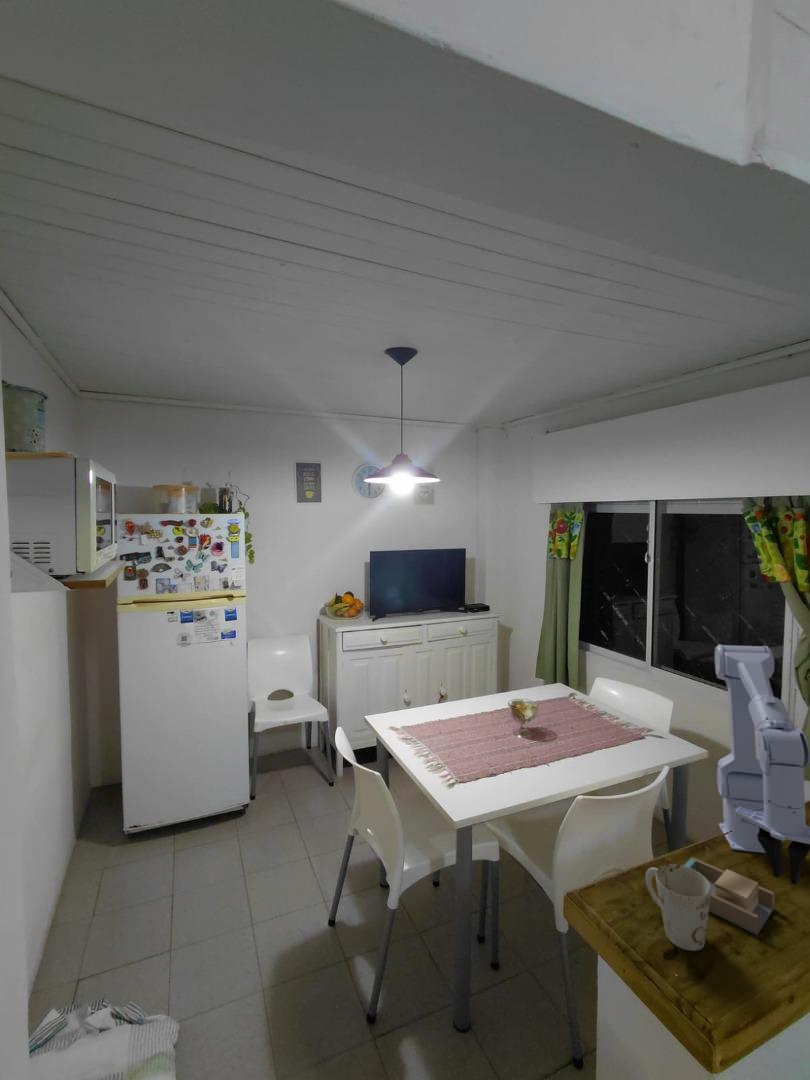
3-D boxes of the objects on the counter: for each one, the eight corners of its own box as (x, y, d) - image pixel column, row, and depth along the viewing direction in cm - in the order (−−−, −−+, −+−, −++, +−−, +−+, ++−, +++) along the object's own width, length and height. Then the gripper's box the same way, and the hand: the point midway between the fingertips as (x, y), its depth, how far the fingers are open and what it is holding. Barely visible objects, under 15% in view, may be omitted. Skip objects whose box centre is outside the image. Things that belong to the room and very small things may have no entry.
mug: (688, 964, 83) (686, 903, 83) (628, 912, 95) (626, 858, 95) (724, 946, 87) (722, 887, 86) (661, 897, 98) (659, 846, 98)
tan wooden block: (715, 904, 95) (714, 883, 95) (727, 889, 99) (726, 868, 99) (747, 920, 91) (746, 898, 91) (759, 904, 95) (758, 882, 94)
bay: (672, 892, 99) (672, 877, 99) (692, 871, 105) (692, 856, 105) (757, 935, 88) (756, 917, 88) (774, 908, 94) (773, 892, 94)
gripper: (727, 792, 91) (730, 868, 92) (831, 827, 80) (834, 913, 80) (741, 779, 96) (744, 851, 96) (842, 809, 84) (845, 891, 85)
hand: (786, 878), depth 89 cm, fingers closed
